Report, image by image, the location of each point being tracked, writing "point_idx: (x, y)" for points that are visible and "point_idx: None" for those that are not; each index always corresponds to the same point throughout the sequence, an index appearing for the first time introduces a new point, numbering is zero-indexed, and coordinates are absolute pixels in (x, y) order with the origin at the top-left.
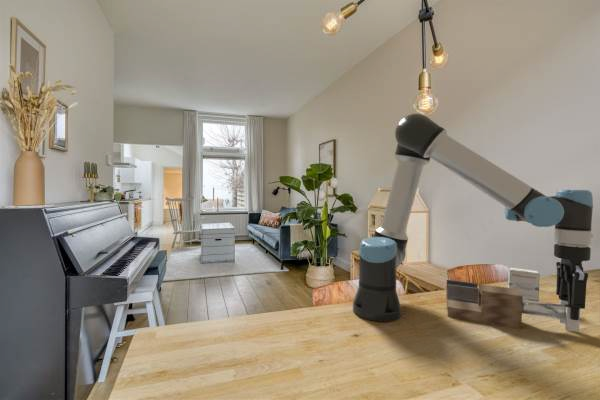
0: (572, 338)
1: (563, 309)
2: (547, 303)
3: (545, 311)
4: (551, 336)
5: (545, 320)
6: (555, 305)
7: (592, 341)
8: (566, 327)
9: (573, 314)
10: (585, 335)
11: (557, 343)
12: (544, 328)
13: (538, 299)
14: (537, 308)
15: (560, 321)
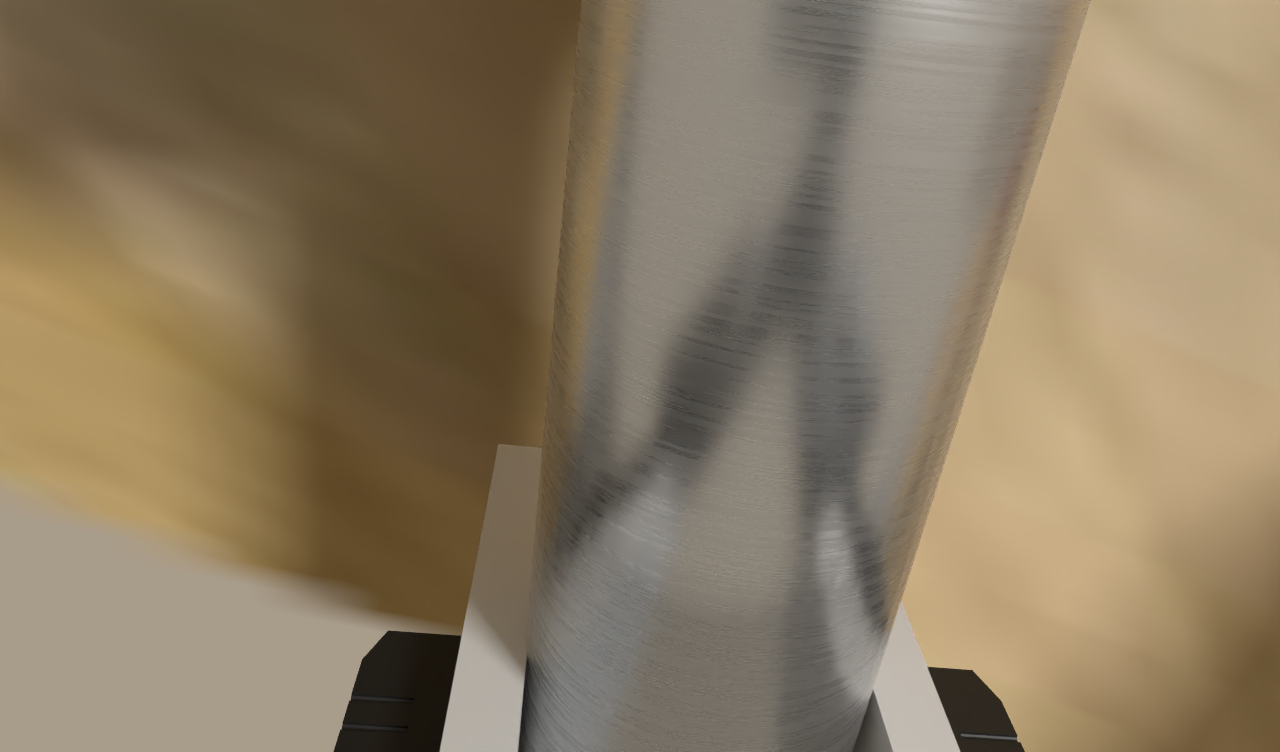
0: (412, 427)
1: (564, 686)
2: (744, 470)
3: (558, 262)
4: (335, 129)
5: (1092, 343)
6: (660, 615)
7: (425, 621)
8: (502, 467)
9: (337, 746)
10: None
11: (38, 98)
12: None
13: None
14: (584, 70)
15: None
